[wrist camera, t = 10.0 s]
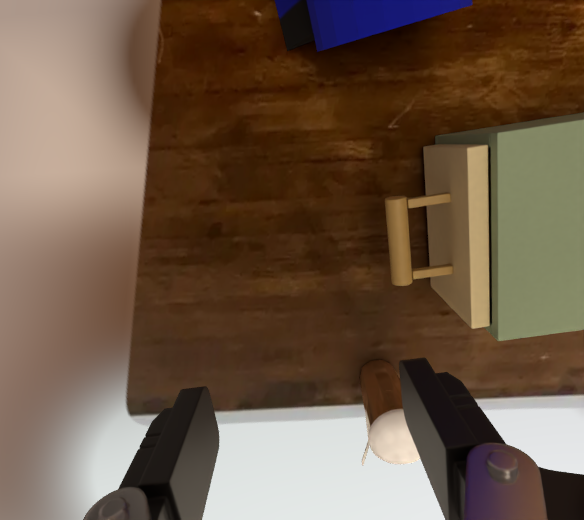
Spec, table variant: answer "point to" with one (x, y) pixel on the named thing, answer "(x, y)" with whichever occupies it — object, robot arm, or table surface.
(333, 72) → the table surface
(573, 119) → the cabinet
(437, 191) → the drawer
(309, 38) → the alarm clock
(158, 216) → the table surface
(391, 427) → the milkshake
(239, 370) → the table surface
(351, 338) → the table surface
